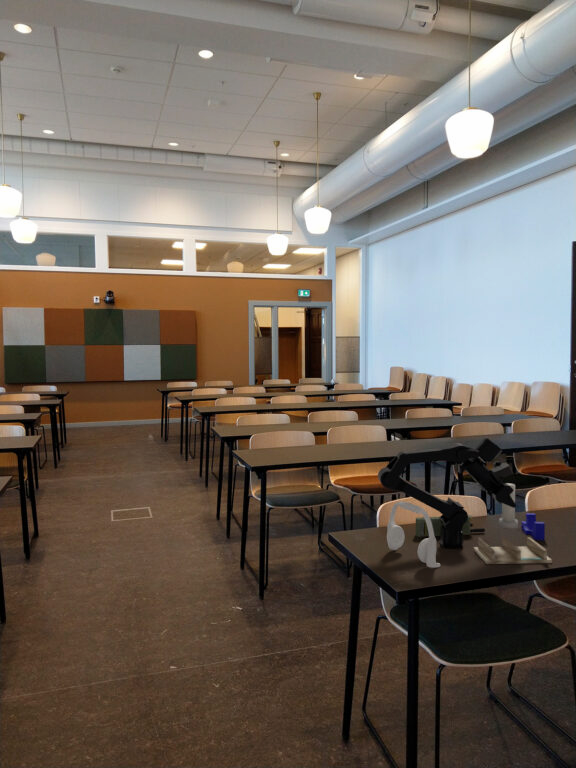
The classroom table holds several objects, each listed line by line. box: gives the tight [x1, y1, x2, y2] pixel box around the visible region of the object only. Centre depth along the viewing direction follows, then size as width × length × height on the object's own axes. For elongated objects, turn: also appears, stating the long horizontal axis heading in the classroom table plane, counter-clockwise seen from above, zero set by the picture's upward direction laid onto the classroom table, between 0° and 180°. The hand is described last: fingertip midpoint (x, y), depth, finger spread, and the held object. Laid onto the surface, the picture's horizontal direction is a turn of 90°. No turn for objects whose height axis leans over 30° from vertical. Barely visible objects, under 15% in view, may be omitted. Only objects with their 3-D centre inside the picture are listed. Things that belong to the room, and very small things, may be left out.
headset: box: [386, 501, 441, 569], centre depth 176 cm, size 20×7×18 cm, turn 28°
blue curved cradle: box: [520, 512, 546, 541], centre depth 198 cm, size 12×4×6 cm, turn 172°
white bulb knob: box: [498, 482, 519, 530], centre depth 187 cm, size 6×6×14 cm
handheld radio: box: [415, 515, 486, 538], centre depth 200 cm, size 7×3×25 cm
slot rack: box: [473, 536, 553, 565], centre depth 178 cm, size 20×12×4 cm, turn 90°
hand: (512, 505), depth 187 cm, fingers closed on white bulb knob, 4 cm apart
